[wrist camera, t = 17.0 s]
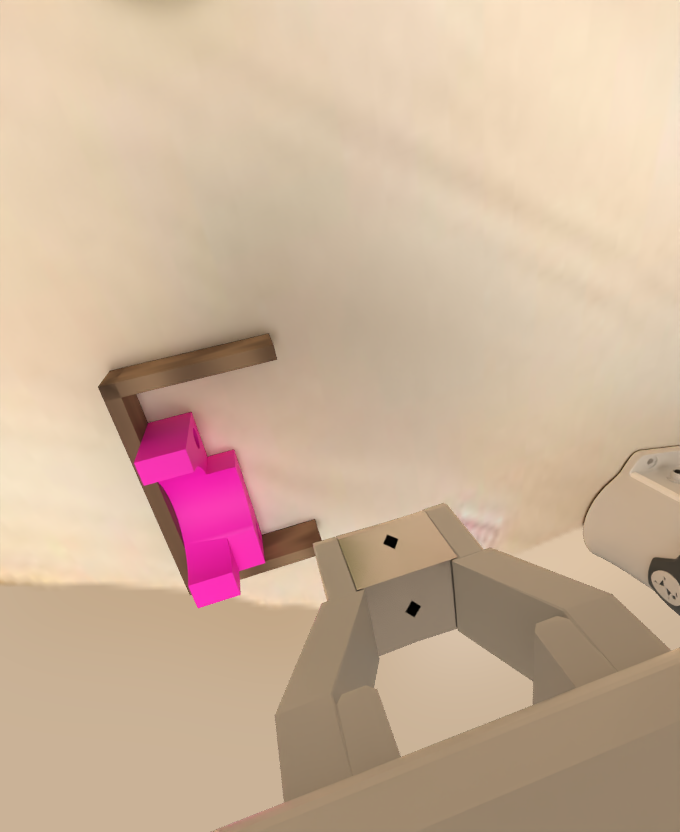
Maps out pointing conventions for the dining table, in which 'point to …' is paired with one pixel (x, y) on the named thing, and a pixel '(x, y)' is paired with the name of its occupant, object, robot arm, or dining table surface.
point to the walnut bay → (132, 424)
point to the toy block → (203, 506)
